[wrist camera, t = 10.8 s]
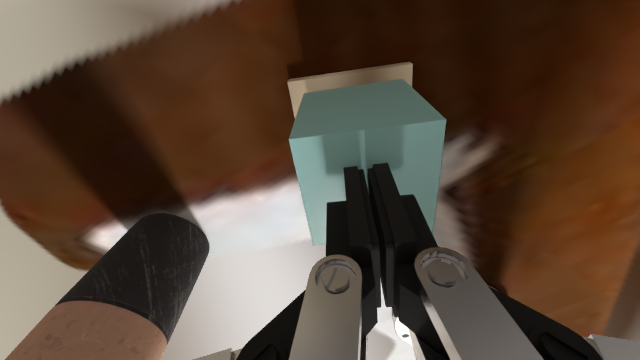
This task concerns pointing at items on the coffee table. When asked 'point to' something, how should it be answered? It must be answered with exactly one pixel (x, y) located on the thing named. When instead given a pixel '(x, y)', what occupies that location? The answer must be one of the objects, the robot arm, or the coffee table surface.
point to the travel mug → (124, 297)
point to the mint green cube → (366, 145)
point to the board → (347, 80)
